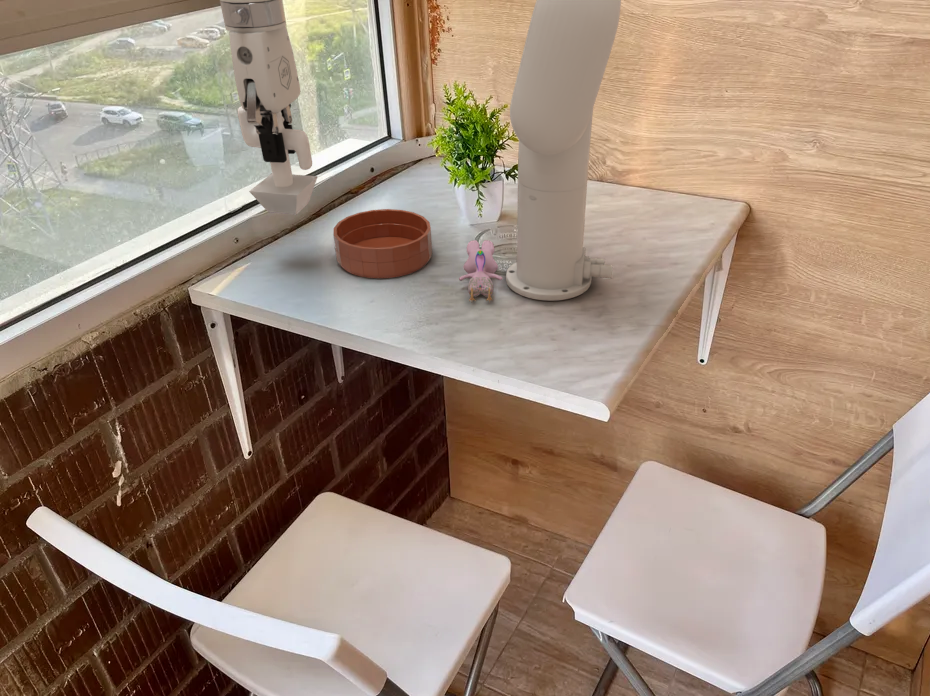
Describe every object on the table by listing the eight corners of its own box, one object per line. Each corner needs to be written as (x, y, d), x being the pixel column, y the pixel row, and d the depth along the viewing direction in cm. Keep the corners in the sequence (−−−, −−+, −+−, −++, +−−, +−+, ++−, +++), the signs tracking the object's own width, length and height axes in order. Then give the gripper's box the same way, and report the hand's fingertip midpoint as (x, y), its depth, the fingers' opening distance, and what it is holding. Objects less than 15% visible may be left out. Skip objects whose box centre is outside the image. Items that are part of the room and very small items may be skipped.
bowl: (440, 241, 125) (439, 212, 122) (420, 282, 113) (417, 251, 110) (353, 235, 126) (350, 206, 123) (324, 276, 115) (319, 245, 112)
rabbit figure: (502, 310, 109) (500, 249, 120) (503, 277, 105) (500, 216, 116) (459, 311, 109) (460, 250, 120) (457, 277, 105) (459, 217, 115)
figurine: (308, 220, 109) (289, 113, 100) (247, 215, 111) (223, 109, 102) (328, 200, 115) (312, 97, 106) (270, 195, 116) (249, 93, 107)
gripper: (256, 27, 91) (284, 178, 101) (304, 3, 104) (325, 139, 114) (196, 26, 91) (230, 176, 102) (251, 3, 105) (277, 138, 115)
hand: (280, 156), depth 108 cm, fingers closed on figurine, 2 cm apart
